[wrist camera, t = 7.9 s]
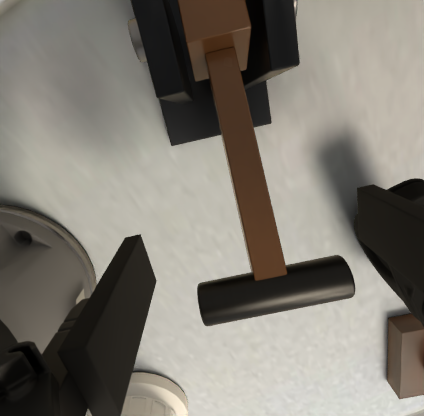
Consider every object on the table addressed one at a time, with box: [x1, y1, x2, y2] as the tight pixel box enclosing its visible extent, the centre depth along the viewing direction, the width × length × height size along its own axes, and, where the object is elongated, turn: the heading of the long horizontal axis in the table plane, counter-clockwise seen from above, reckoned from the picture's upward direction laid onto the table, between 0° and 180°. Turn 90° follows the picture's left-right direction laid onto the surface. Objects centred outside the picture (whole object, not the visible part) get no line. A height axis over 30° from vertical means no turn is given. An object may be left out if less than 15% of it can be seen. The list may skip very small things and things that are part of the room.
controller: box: [354, 179, 424, 327], centre depth 21 cm, size 4×12×10 cm, turn 31°
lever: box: [177, 0, 355, 326], centre depth 10 cm, size 12×5×2 cm, turn 12°
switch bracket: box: [128, 0, 299, 146], centre depth 14 cm, size 10×8×13 cm
